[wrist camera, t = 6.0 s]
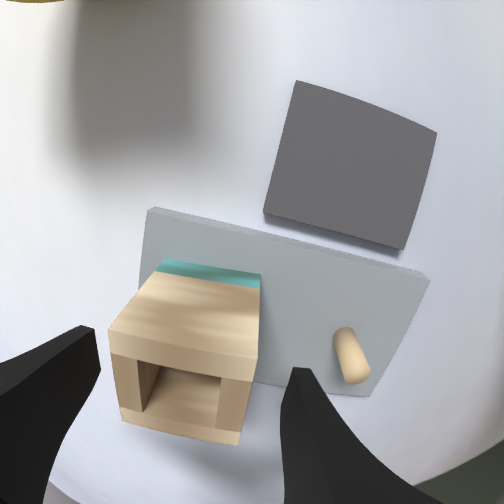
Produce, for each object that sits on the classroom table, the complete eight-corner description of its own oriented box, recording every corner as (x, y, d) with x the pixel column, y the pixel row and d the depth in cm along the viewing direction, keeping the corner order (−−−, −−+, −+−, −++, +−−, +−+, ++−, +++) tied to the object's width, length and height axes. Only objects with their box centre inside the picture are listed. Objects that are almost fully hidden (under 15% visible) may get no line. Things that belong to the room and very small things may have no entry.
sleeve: (260, 274, 14) (257, 359, 8) (246, 351, 15) (237, 445, 10) (165, 258, 14) (107, 329, 8) (162, 336, 15) (122, 421, 9)
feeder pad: (431, 133, 12) (437, 132, 12) (398, 246, 14) (403, 250, 14) (295, 82, 12) (296, 80, 11) (263, 209, 14) (263, 212, 13)
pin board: (421, 272, 15) (459, 308, 11) (365, 386, 17) (381, 432, 13) (154, 206, 14) (118, 228, 10) (140, 341, 17) (115, 386, 13)
